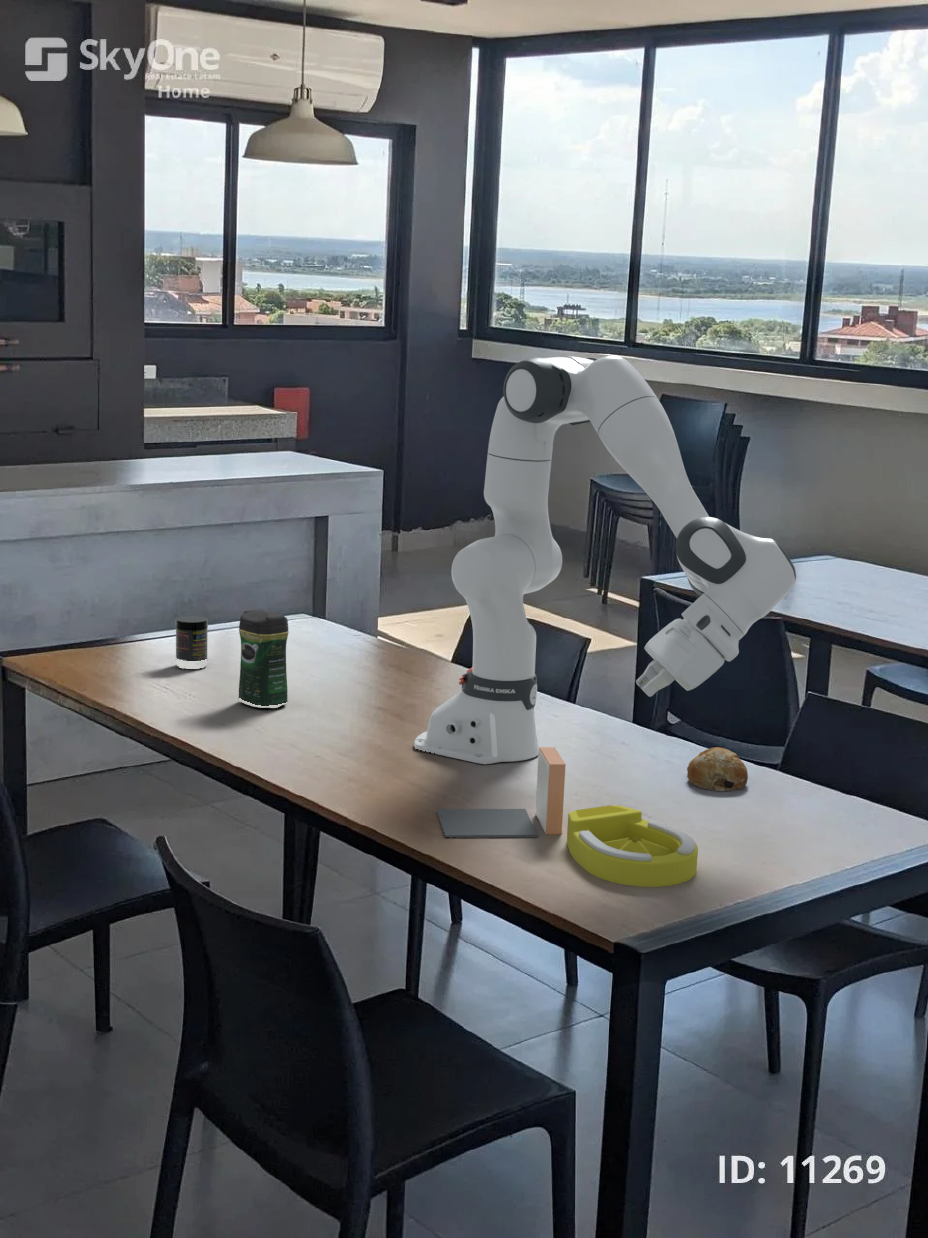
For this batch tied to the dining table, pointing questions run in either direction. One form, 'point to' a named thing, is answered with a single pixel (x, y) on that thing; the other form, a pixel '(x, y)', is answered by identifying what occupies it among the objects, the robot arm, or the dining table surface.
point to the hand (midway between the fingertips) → (642, 689)
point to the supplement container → (191, 638)
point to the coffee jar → (263, 657)
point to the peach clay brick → (550, 790)
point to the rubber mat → (486, 823)
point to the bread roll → (717, 770)
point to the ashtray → (630, 847)
